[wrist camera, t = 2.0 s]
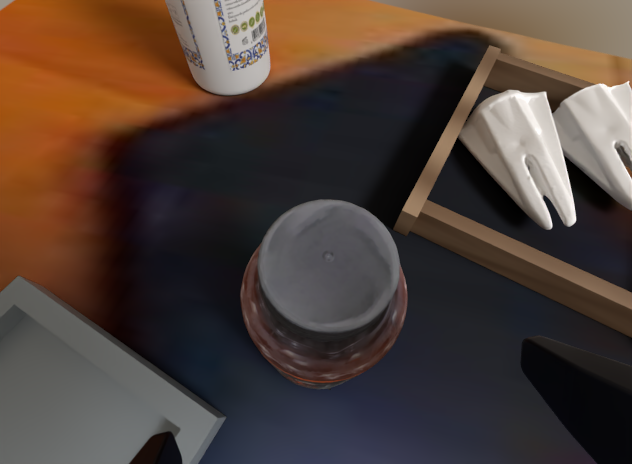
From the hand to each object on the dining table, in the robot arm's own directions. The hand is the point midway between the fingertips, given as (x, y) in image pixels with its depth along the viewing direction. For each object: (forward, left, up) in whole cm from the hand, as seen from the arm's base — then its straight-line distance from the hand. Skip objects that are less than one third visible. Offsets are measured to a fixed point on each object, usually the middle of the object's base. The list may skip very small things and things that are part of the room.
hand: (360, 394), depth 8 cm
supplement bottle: (+3, +2, -11) cm, 11 cm away
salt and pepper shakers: (+21, -7, -11) cm, 25 cm away
